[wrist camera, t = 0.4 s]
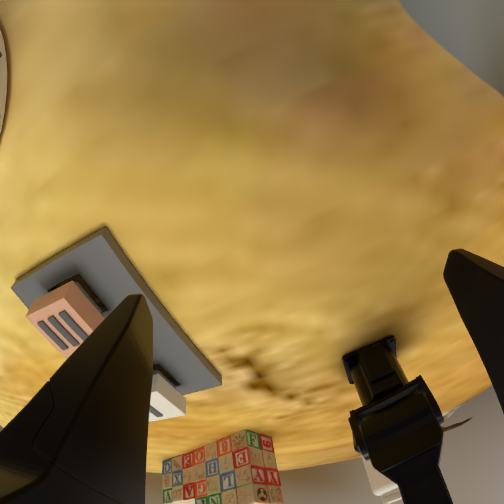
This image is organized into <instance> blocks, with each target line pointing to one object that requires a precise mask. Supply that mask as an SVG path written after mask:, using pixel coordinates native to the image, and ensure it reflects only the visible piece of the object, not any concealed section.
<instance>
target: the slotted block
mask: <svg viewBox="0 0 504 504" xmlns="http://www.w3.org/2000/svg"><path fill="white" fill-rule="evenodd" d="M101 312H102V310H101V309H100V308H99V307H98V306H97V304H96V303H95V302H94V301H93V300H92V299H91V297H90V296H89V295H88V294H87V293H86V291H85V290H84V289H83V288H82V286H81V285H80V284H79V283H78V281H76V282H74V281H73V280H72V281H70V282H68V283H66V284H64V285H62V286H60V287H59V288H57V289H55V290H53V291H51V292H49V293H47V294H45V295H43V296H41V297H40V298H38V299H36V300H34V302H33V304H32V306H31V307H30V309H29V311H28V313H27V315H26V318H27V319H28V320H29V321H30V322H31V323H32V324H33V325H34V326H35V327H36V329H37V330H38V331H39V332H40V333H41V334H42V335H43V336H44V337H45V338H46V339H47V340H48V341H49V342H50V343H51V344H52V345H53V346H54V347H55V348H56V349H57V350H58V351H59V352H60V353H61V354H63V355H64V356H65V357H68V356H71V354H72V353H73V352H74V351H75V350H76V349H77V348H78V347H79V346H80V345H81V344H82V342H83V341H84V340H85V339H86V338H87V337H88V336H89V335H90V334H91V333H92V332H93V331H94V330H95V329H96V327H97V326H98V325H99V324H100V323H101V322H102V321H103V320H104V319H105V318H104V317H103V316H102V315H101Z"/></svg>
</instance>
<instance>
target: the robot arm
mask: <svg viewBox="0 0 504 504" xmlns="http://www.w3.org/2000/svg"><path fill="white" fill-rule="evenodd" d="M443 276H444V280H445V282H446V284H447V287H448V289H449V291H450V293H451V295H452V298H453V300H454V302H455V304H456V307H457V309H458V312H459V314H460V316H461V318H462V320H463V322H464V324H465V326H466V328H467V330H468V332H469V334H470V336H471V338H472V340H473V342H474V344H475V346H476V348H477V351H478V353H479V355H480V357H481V359H482V361H483V364H484V366H485V368H486V370H487V373H488V375H489V377H490V380H491V382H492V384H493V387H494V389H495V392H496V394H497V397H498V400H499V402H500V405H501V407H502V410H503V413H504V267H502V266H500V265H498V264H496V263H494V262H491V261H489V260H487V259H485V258H482V257H480V256H478V255H475V254H473V253H471V252H468V251H466V250H464V249H455V250H452V251H450V253H449V255H448V258H447V262H446V265H445V268H444V272H443ZM342 360H343V364H344V367H345V370H346V374H347V377H348V380H349V383H350V384H355V387H356V389H357V392H358V395H359V397H360V400H361V402H362V405H363V406H362V407H360V408H358V409H356V410H352V411H350V415H351V417H350V418H349V419H348V420H349V423H350V426H351V429H352V434H353V442H354V449H355V451H357V452H359V453H361V454H362V456H363V457H364V458H365V460H366V461H368V460H371V463H372V466H373V468H374V469H376V470H377V471H378V472H380V473H381V474H383V475H384V476H385V477H387V478H388V479H390V480H391V481H393V482H394V483H395V484H397V485H398V488H399V490H400V493H401V496H402V499H403V503H404V504H453V502H452V499H451V497H450V494H449V491H448V489H447V486H446V484H445V481H444V479H443V476H442V473H441V471H440V468H439V464H440V459H441V453H442V446H443V431H442V428H441V426H440V424H442V423H443V422H444V419H443V416H442V413H441V411H440V408H439V406H438V404H437V402H436V400H435V398H434V396H433V395H432V393H431V391H430V390H429V388H428V386H427V385H426V383H425V381H424V380H423V378H422V376H421V375H419V376H418V377H416V379H414V380H412V381H411V382H408V380H407V378H406V376H405V374H404V372H403V370H402V368H401V366H400V364H399V362H398V360H397V358H396V339H395V337H394V336H393V335H391V336H389V337H387V338H385V339H382V340H380V341H378V342H376V343H373V344H371V345H369V346H367V347H364V348H362V349H360V350H357V351H355V352H352V353H350V354H348V355H345V356H344V357H343V358H342ZM152 379H153V318H152V315H151V312H150V309H149V307H148V304H147V301H146V299H145V297H144V295H143V294H141V293H140V294H130V295H128V296H126V297H125V298H124V299H123V300H122V301H121V302H120V303H119V305H118V306H117V307H116V308H115V309H114V310H113V311H112V312H111V313H110V314H109V315H108V316H107V317H106V318H105V319H104V320H103V321H102V322H101V323H100V324H99V325H98V326H97V327H96V329H95V330H94V331H93V332H92V333H91V334H90V335H89V336H88V337H87V338H86V339H85V340H84V341H83V342H82V344H81V345H80V346H79V347H78V348H77V349H76V350H75V351H74V352H73V353H72V354H71V356H70V357H69V358H68V359H67V360H66V361H65V362H64V363H63V364H62V365H61V367H60V368H59V369H58V370H57V371H56V372H55V373H54V374H53V376H52V377H51V378H50V381H47V382H46V383H45V385H44V386H43V387H42V388H41V389H40V390H39V392H38V393H37V394H36V395H35V396H34V397H33V398H32V399H31V400H30V402H29V403H28V404H27V405H26V406H25V407H24V408H23V409H22V410H21V411H20V412H19V413H18V414H17V415H16V416H15V417H14V418H13V419H12V420H11V421H10V422H9V423H8V424H7V425H6V426H5V427H4V428H3V430H2V431H1V432H0V504H145V479H146V455H147V438H148V423H149V411H150V400H151V389H152Z"/></svg>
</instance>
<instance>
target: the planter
mask: <svg viewBox="0 0 504 504" xmlns="http://www.w3.org/2000/svg"><path fill="white" fill-rule="evenodd" d="M6 95H7V61H6V52H5V46H4V40H3V37H2V33H1V30H0V133H1V129H2V124H3V118H4V113H5V104H6Z"/></svg>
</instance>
